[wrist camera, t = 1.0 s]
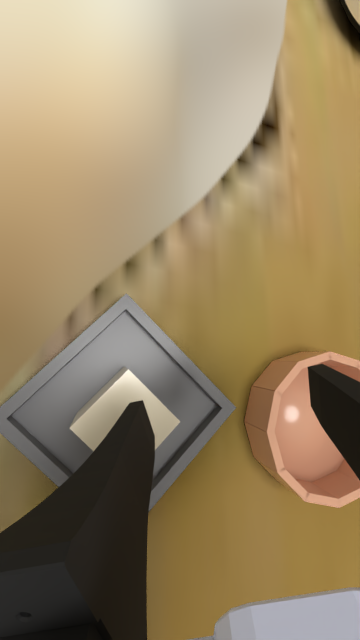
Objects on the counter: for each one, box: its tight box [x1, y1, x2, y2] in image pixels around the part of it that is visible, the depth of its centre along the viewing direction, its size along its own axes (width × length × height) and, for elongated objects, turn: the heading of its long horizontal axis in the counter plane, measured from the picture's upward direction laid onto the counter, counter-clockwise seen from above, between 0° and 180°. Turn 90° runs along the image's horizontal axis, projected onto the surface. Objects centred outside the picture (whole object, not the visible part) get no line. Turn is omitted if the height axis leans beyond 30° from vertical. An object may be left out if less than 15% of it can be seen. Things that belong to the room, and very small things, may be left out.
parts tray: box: [0, 294, 236, 511], centre depth 21 cm, size 12×12×2 cm
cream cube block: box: [70, 367, 180, 451], centre depth 19 cm, size 4×4×4 cm
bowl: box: [244, 352, 360, 508], centre depth 24 cm, size 11×11×4 cm
